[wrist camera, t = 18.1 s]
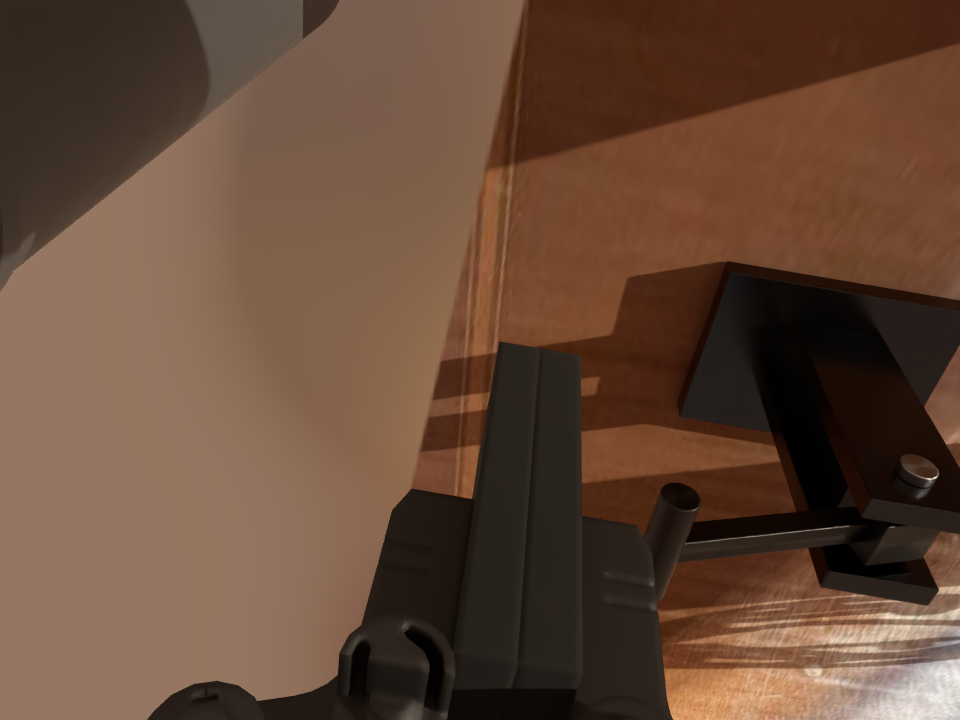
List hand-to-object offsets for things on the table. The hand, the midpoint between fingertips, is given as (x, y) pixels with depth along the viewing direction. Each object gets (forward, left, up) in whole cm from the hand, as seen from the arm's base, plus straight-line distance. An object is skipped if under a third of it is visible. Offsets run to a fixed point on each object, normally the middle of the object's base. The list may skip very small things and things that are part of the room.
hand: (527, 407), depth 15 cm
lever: (+11, -12, -12) cm, 20 cm away
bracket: (+16, -12, -24) cm, 32 cm away
